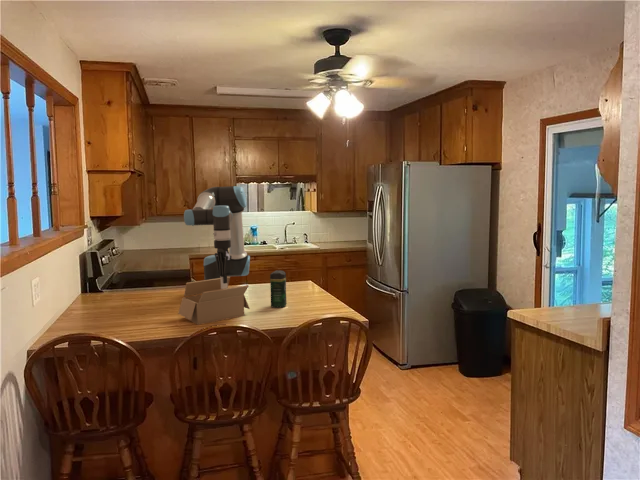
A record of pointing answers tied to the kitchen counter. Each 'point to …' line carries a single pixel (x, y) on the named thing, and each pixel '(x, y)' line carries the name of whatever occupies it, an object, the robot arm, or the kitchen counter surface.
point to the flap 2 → (223, 293)
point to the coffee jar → (278, 289)
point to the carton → (212, 309)
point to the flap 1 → (203, 286)
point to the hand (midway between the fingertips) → (224, 289)
